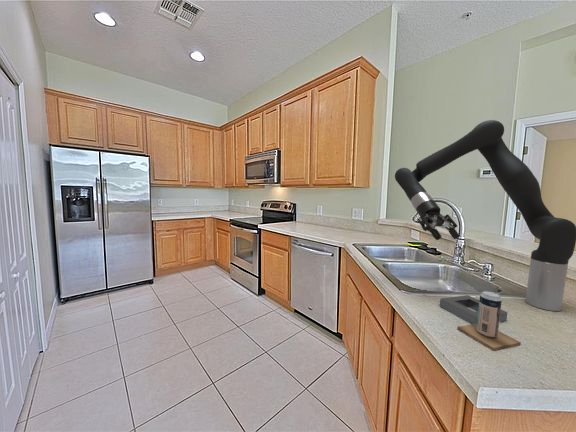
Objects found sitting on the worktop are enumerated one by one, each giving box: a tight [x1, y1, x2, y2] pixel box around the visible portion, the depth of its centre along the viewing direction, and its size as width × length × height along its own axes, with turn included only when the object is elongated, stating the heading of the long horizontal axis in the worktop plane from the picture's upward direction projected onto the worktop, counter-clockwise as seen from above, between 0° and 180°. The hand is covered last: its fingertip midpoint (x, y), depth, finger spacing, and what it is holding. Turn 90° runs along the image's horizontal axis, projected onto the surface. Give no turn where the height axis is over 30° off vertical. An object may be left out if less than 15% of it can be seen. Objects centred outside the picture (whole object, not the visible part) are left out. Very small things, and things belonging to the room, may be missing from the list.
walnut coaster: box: [456, 323, 522, 351], centre depth 68 cm, size 10×10×1 cm
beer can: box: [476, 290, 503, 337], centre depth 67 cm, size 5×5×12 cm
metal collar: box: [439, 294, 508, 325], centre depth 81 cm, size 13×13×3 cm
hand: (448, 238), depth 86 cm, fingers open, 8 cm apart
